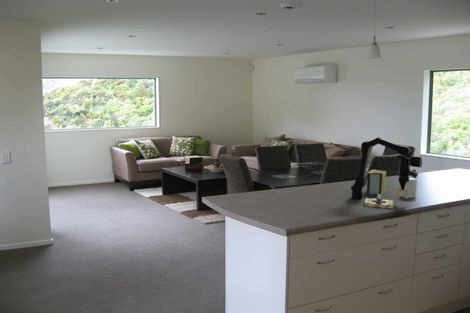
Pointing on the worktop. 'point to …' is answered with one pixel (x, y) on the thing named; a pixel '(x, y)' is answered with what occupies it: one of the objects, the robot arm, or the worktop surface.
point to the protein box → (376, 182)
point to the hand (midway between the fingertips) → (402, 189)
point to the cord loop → (402, 191)
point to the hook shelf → (384, 203)
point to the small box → (410, 188)
